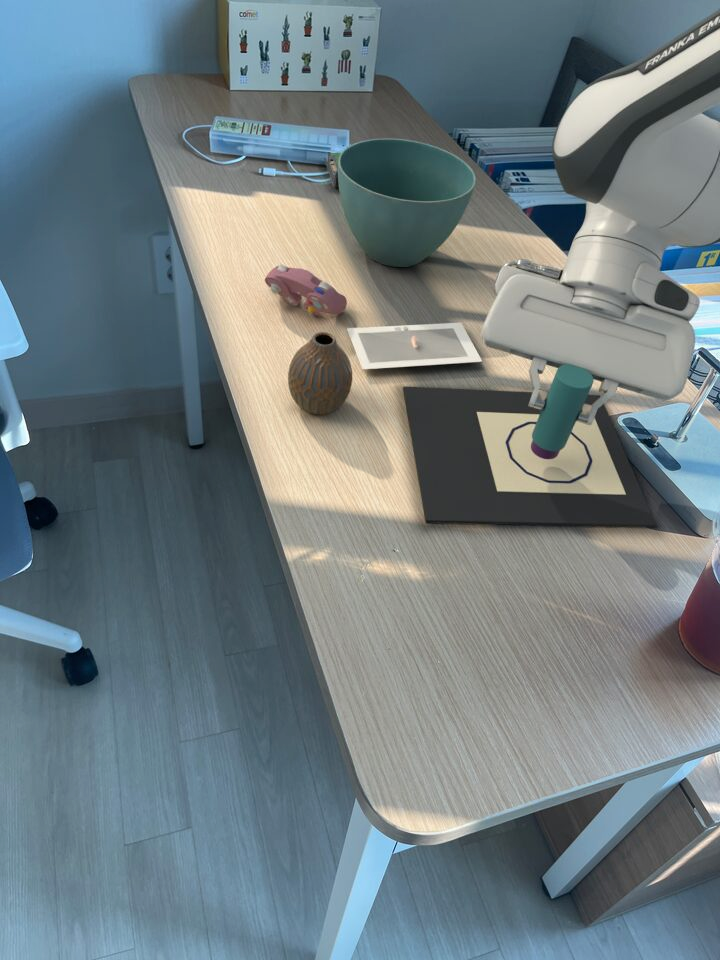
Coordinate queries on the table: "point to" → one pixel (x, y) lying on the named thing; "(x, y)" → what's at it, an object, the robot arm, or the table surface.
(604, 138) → the robot arm
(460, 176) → the plant pot
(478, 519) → the desk mat
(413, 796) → the table surface
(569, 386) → the cylinder
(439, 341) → the white framed picture
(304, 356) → the vase
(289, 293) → the video game controller
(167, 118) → the table surface
